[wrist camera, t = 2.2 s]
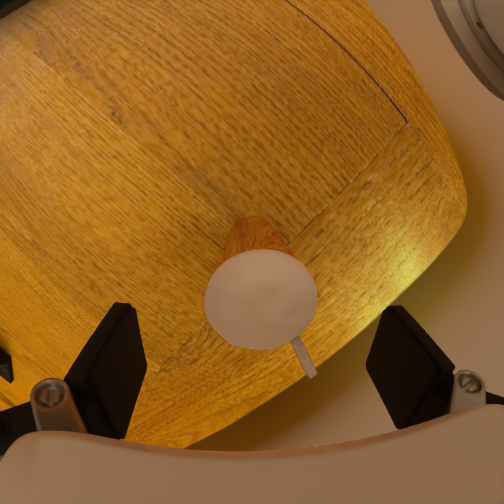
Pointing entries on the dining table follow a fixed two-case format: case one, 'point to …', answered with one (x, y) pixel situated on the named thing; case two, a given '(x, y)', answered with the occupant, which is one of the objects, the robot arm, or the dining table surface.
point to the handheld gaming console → (5, 366)
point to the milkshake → (261, 292)
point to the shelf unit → (10, 6)
